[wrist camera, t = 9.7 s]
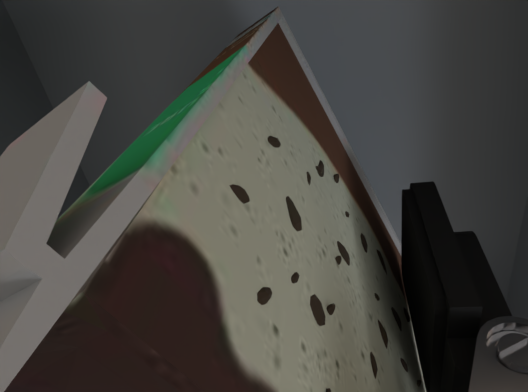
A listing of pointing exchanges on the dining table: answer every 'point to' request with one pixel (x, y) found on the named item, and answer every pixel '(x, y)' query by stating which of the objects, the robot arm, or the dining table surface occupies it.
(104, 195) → the food container
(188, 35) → the crate
